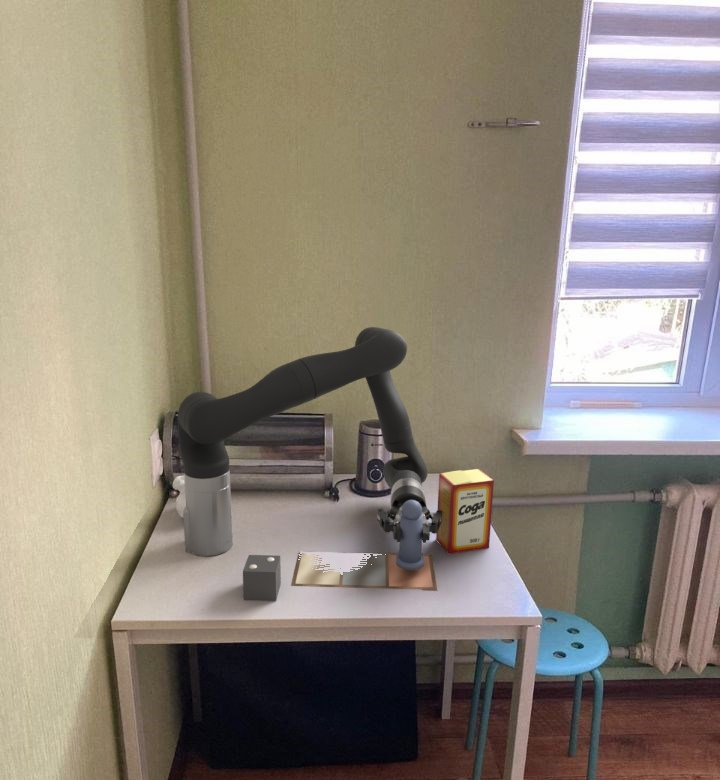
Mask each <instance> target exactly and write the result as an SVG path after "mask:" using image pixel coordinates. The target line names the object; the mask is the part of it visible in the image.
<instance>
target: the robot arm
mask: <svg viewBox="0 0 720 780" xmlns="http://www.w3.org/2000/svg"><path fill="white" fill-rule="evenodd" d="M407 345H408V344H407V342H406V340H405V338H404V337H403V336H402V335H401V334H399V333H398V332H396V331H393V330H391V329H389V328H387V329H386V328H382V327H378V326H377V327H375V326H370V327H366V328H364V329H362V330H361V331H360V332H359V333H358V334H357V336H356V339H355V344H354V346H353V347H349V348H347V349H342V350H338V351H332V352H331V351H330V352H324V353H318V354H313V355H308V356H307V355H306V356H305V357H304V356H303V357H300V358H298V359H295V360H292V361H289V362H287V363H284V364H283V365H280V366H278V367H276V368H274V369H272V370H271V371H270V372H269V373H267V374H266V375H265V376H263V377H262V379H261V378H260V380H259V381H257V383H255V384H254V385H252V386H251V387H248V388H247V389H244V390H242V391H240V392H237V393H234V394H231V395H228V396H224V397H221V398H217V397H216V396H215V395H213V394H212V393H209V392H205V391H197V392H193V393H191V394H189V395H187V396H186V397H185V398H183V400H182V402H181V403H180V405H179V407H178V411H177V428H178V429H177V430H178V432H177V433H178V441H179V451H180V458H181V461H182V465H183V475H184V481H185V498H186V506H185V508H184V509H183V518H182V519H183V534H184V535H183V536H184V550H185V552H186V553H187V552H188V553H192V554H193V555H196V556H201V557H206V556H207V557H210V556H211V557H212V556H217V555H221V554H223V553H225V552H228V551H229V550H230V549H231V548H232V547H233V523H232V521H233V519H232V495H231V473H230V468H231V467H230V457H229V454H228V451H227V449H226V446H225V440H227V439H228V438H230V437H233V436H234V435H236V434H238V433H239V432H241V431H243V430H244V429H247V428H248V427H250V426H252V425H254V424H257V423H258V422H260V421H262V420H265V419H268V418H270V417H271V418H272V417H273V416H275V415H278V414H280V413H283V412H285V411H288V410H291V409H293V408H296V407H298V406H302V405H304V404H306V403H308V402H310V401H312V400H315V399H318V398H320V397H322V396H324V395H326V394H328V393H331V392H333V391H335V390H338V389H341V388H342V387H345V386H347V385H349V384H351V383H353V382H356V381H359V380H361V379H366V383H367V385H368V386H367V387H368V388H369V391H370V393H371V398H372V400H373V403H374V406H375V410H376V413H377V417H378V422H379V425H380V430H381V431H380V432H381V435H382V440H383V445H384V448H385V449H386V451H387V452H389V453H392V454H403V455H406V456H402V457H397V458H396V457H395V458H392V459H389V460H387V461H386V462H385V463H384V465H383V467H382V473H383V479H384V481H385V483H386V484H387V486H388V487H389V489H390V490H391V492H390V509H389V510H387V511H386V510H384V509H382V508H377V510H376V511H377V512H376V517H377V519H376V520H377V523H378V525H379V526H380V527H381V529H382V530H383V532H384V533H390V532H392V536H393V537H392V538H393V540H394V541H396V542H397V543H400V542H401V528H400V515H401V514H402V506H403V504H404V503H405V502H406V501H408V500H415V501H417V502H419V503H420V505H421V507H422V515H423V527H422V544H427V541H430V538H431V537H430V535H431V534H434V535H435V534H436V533H437V532H438V530H439V527H440V525H441V523H442V511H441V510H438V509H437V510H436V511H434V512H431V510H429V508H428V507H427V501H426V494H425V491H424V488H423V483H424V482H425V481H426V480H427V477H428V475H429V472H428V466H427V464H426V462H425V460H424V458H423V457H422V454H421V453H420V451H419V450H418V447H417V445H416V443H415V440H414V435H413V431H412V426H411V420H410V417H409V415H408V411H407V409H406V407H405V405H404V401H402V399H401V397H400V395H399V392H398V390H397V388H396V385H395V383H394V380H393V378H392V375H391V374H392V373H391V371H392V370H394V369H395V368H397V367H398V366H400V365H401V364H402V363H403V361H404V359H405V358H406V356H407V353H408V352H407V351H408V347H407ZM429 519H430V520H431V522H429ZM430 533H431V534H430Z"/></svg>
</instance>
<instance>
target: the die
mask: <svg viewBox="0 0 720 780" xmlns="http://www.w3.org/2000/svg"><path fill="white" fill-rule="evenodd" d="M281 569H282V568H281V555H271V554H270V555H268V554H267V555H266V554H263V555H262V554H248V557H247V559H246V561H245V564H244V567H243V569H242V591H243V601H256V602H257V601H260V602H261V601H263V602H265V601H266V602H277V599H278V595H279V592H280V588H281V584H282V581H281V580H282V577H281V574H282V573H281Z"/></svg>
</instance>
